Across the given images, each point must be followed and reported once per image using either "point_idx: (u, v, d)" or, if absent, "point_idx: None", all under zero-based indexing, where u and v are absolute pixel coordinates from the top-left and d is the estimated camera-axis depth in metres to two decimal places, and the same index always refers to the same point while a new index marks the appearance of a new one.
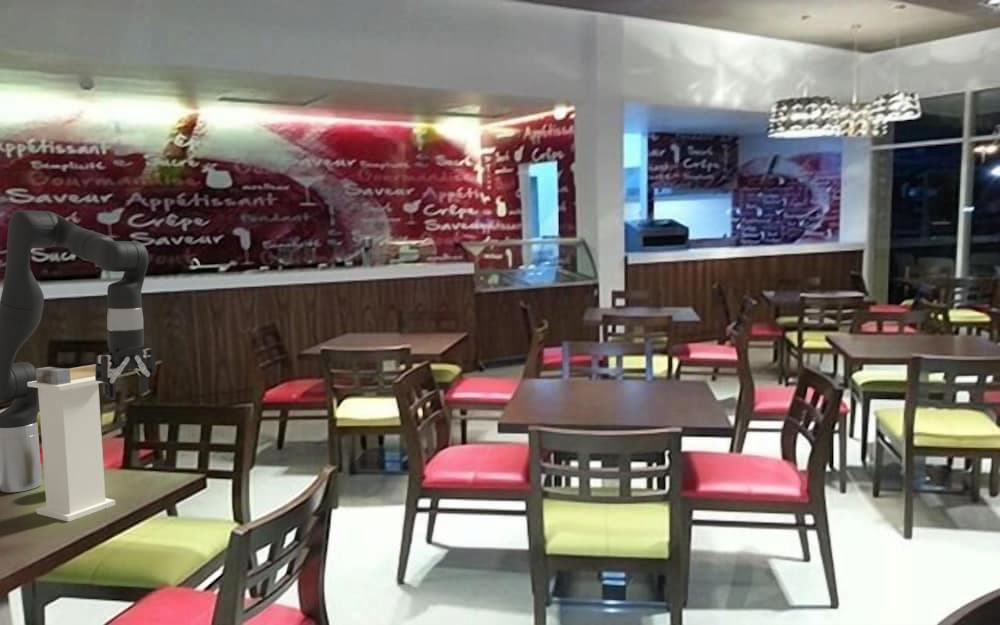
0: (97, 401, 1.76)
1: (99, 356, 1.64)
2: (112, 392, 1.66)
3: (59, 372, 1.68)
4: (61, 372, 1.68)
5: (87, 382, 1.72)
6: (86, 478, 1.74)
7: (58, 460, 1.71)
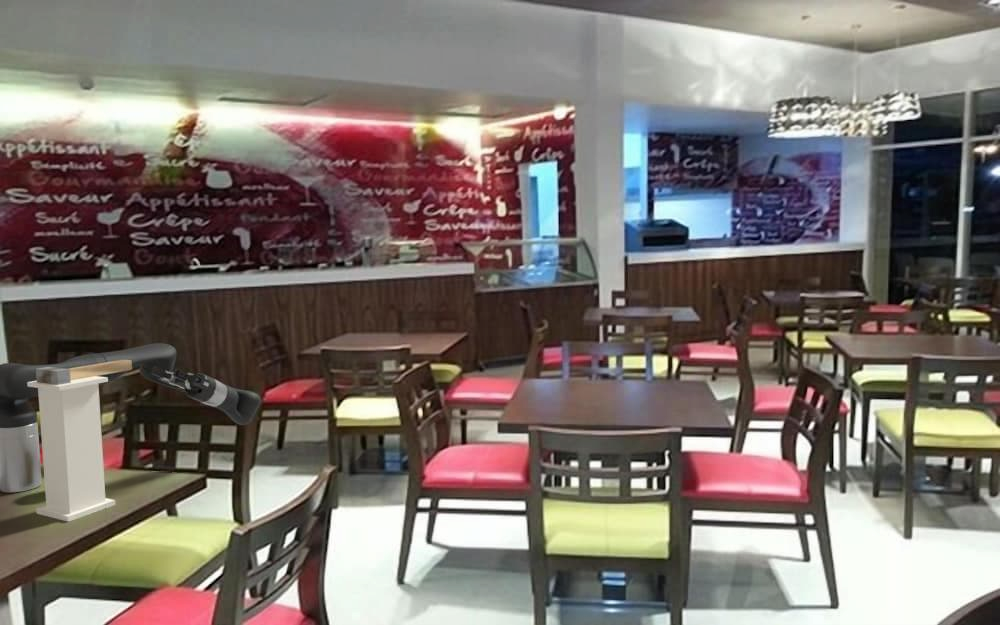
0: (97, 401, 1.76)
1: (208, 384, 2.03)
2: (178, 377, 1.97)
3: (59, 372, 1.68)
4: (61, 372, 1.68)
5: (87, 382, 1.72)
6: (86, 478, 1.74)
7: (58, 460, 1.71)
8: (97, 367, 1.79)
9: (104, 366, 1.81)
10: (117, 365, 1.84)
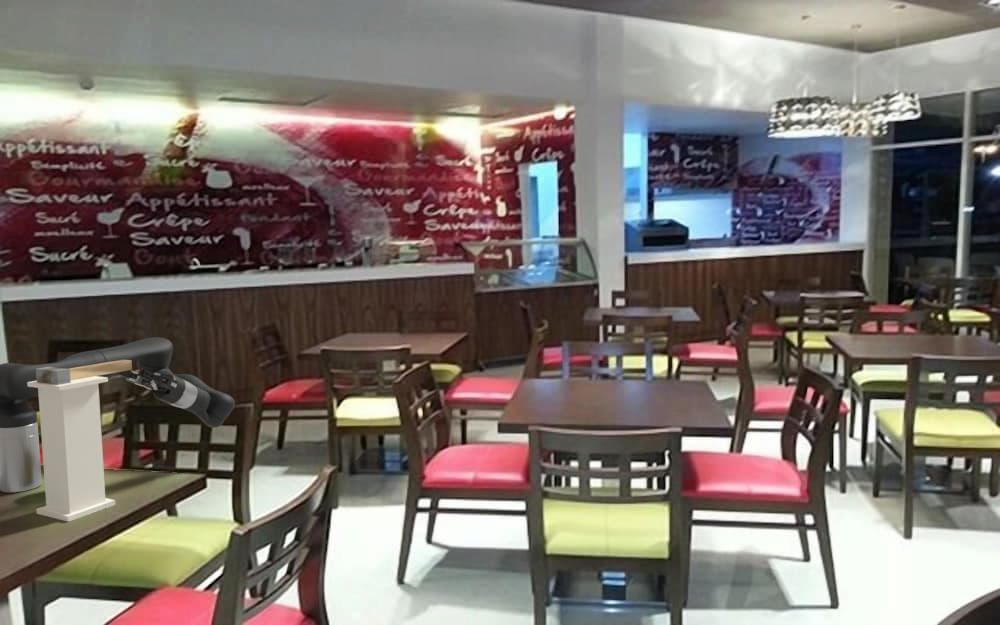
0: (97, 401, 1.76)
1: (176, 385, 1.94)
2: (144, 377, 1.87)
3: (59, 372, 1.68)
4: (61, 372, 1.68)
5: (87, 382, 1.72)
6: (86, 478, 1.74)
7: (58, 460, 1.71)
8: (97, 367, 1.79)
9: (104, 366, 1.81)
10: (117, 365, 1.84)
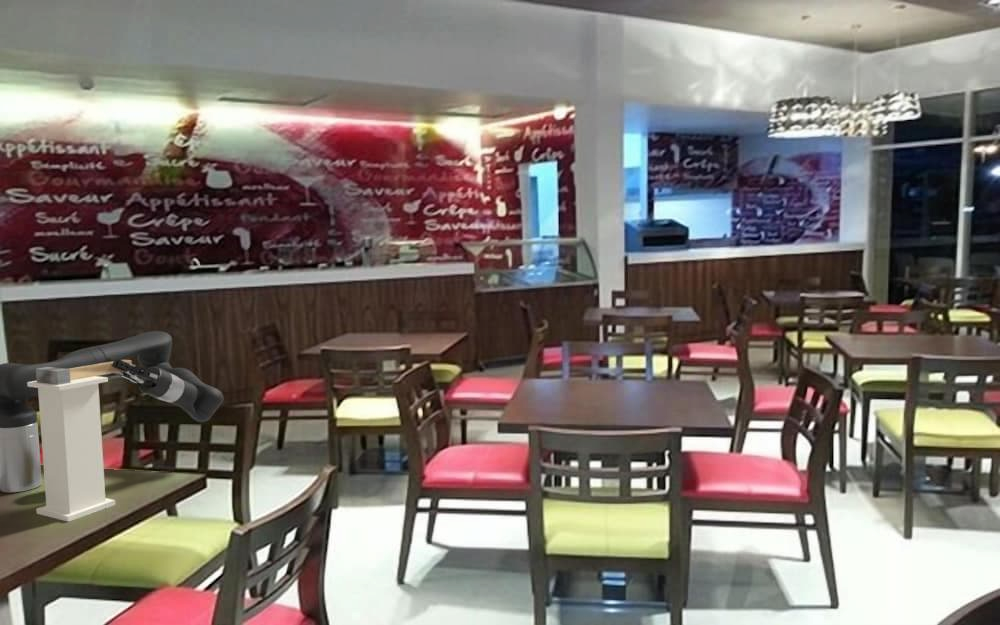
0: (97, 401, 1.76)
1: (156, 376, 1.88)
2: (118, 368, 1.84)
3: (59, 372, 1.68)
4: (61, 372, 1.68)
5: (87, 382, 1.72)
6: (86, 478, 1.74)
7: (58, 460, 1.71)
8: (97, 367, 1.79)
9: (104, 366, 1.81)
10: None
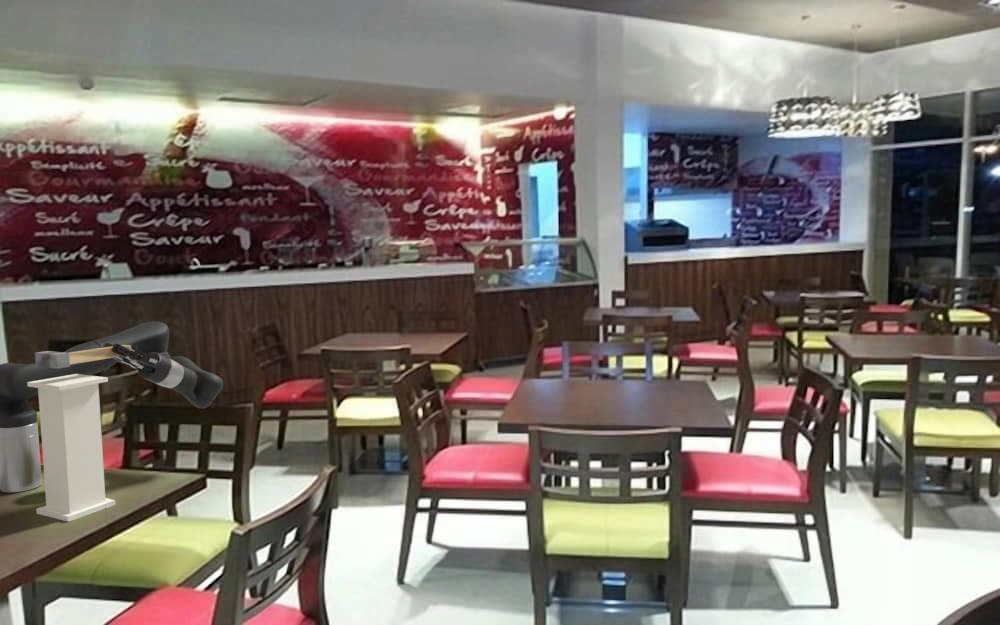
0: (97, 401, 1.76)
1: (156, 361, 1.88)
2: (118, 352, 1.83)
3: (58, 356, 1.68)
4: (60, 356, 1.68)
5: (87, 382, 1.72)
6: (86, 478, 1.74)
7: (58, 460, 1.71)
8: (96, 351, 1.79)
9: (103, 351, 1.80)
10: None
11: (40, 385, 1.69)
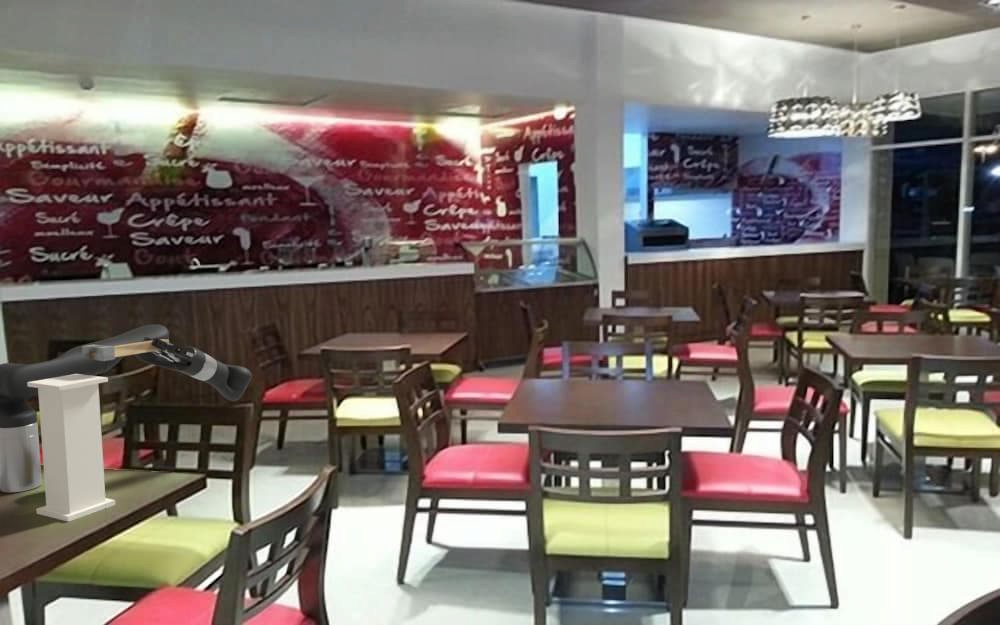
0: (97, 401, 1.76)
1: (192, 354, 1.98)
2: (157, 346, 1.93)
3: (105, 349, 1.78)
4: (107, 349, 1.78)
5: (87, 382, 1.72)
6: (86, 478, 1.74)
7: (58, 460, 1.71)
8: (138, 345, 1.89)
9: (144, 344, 1.91)
10: None
11: (40, 385, 1.69)
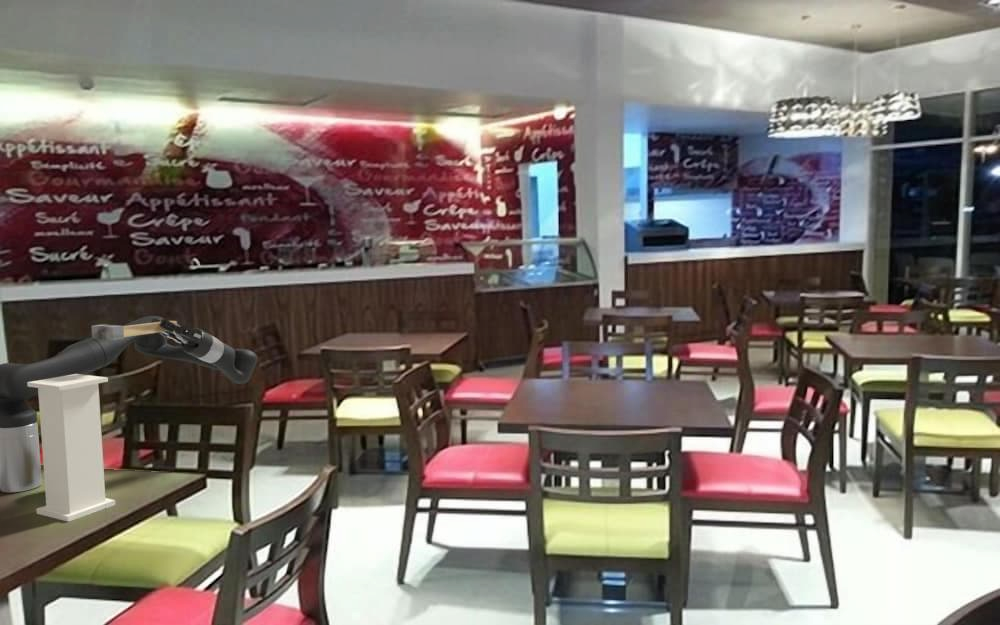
0: (97, 401, 1.76)
1: (200, 336, 2.00)
2: (165, 327, 1.96)
3: (114, 328, 1.80)
4: (116, 328, 1.80)
5: (87, 382, 1.72)
6: (86, 478, 1.74)
7: (58, 460, 1.71)
8: (146, 326, 1.91)
9: (152, 325, 1.93)
10: None
11: (40, 385, 1.69)
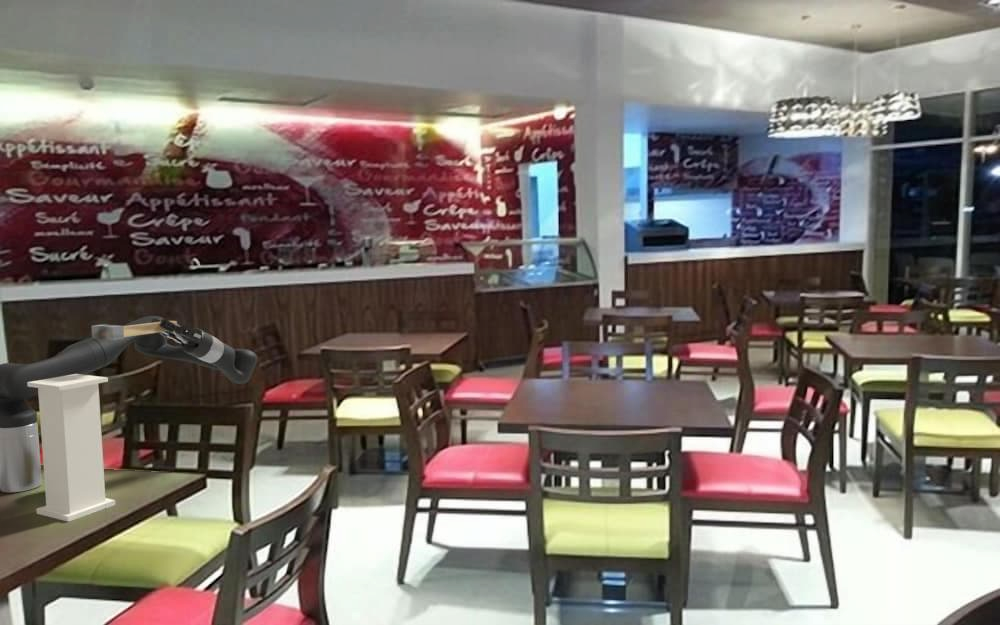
0: (97, 401, 1.76)
1: (200, 336, 2.00)
2: (165, 327, 1.96)
3: (114, 328, 1.80)
4: (116, 328, 1.80)
5: (87, 382, 1.72)
6: (86, 478, 1.74)
7: (58, 460, 1.71)
8: (146, 326, 1.91)
9: (152, 325, 1.93)
10: None
11: (40, 385, 1.69)
